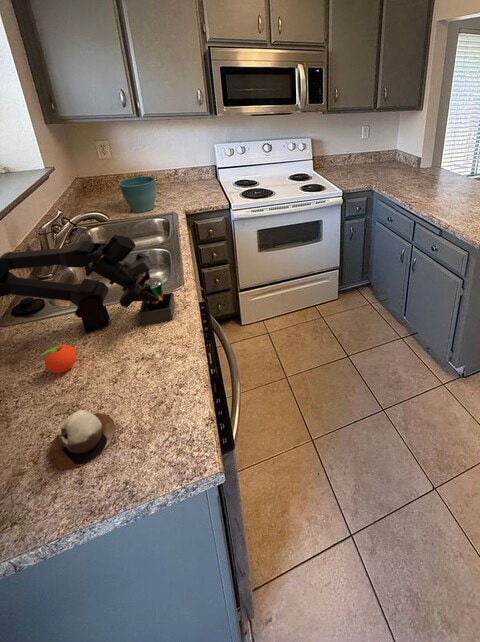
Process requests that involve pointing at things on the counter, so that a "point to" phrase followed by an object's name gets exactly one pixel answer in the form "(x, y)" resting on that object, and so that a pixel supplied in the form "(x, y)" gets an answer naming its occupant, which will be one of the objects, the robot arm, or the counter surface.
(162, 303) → the soda can
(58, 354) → the clementine
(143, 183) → the flower pot
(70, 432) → the hat
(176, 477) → the counter surface
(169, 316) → the waste bin
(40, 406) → the counter surface
